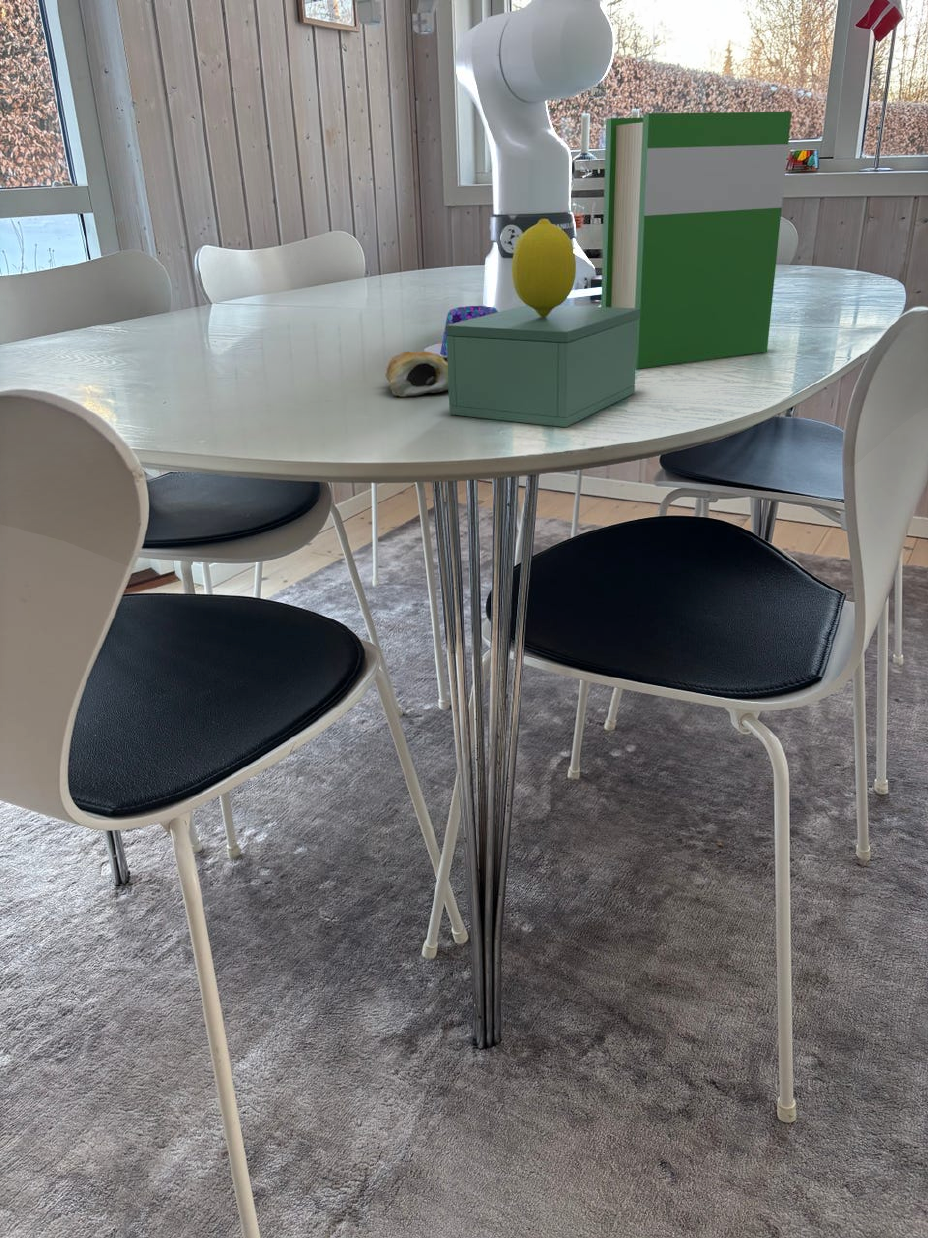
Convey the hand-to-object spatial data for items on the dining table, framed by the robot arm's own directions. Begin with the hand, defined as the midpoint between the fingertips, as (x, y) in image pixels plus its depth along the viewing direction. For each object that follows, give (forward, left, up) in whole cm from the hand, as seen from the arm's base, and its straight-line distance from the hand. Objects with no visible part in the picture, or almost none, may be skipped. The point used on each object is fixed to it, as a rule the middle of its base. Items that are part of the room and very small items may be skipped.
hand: (397, 28), depth 94 cm
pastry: (+14, +10, -33) cm, 37 cm away
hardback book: (-13, +28, -33) cm, 45 cm away
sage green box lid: (+15, +25, -26) cm, 39 cm away
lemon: (+15, +25, -26) cm, 39 cm away
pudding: (-5, +5, -33) cm, 34 cm away
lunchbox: (+15, +25, -33) cm, 44 cm away
